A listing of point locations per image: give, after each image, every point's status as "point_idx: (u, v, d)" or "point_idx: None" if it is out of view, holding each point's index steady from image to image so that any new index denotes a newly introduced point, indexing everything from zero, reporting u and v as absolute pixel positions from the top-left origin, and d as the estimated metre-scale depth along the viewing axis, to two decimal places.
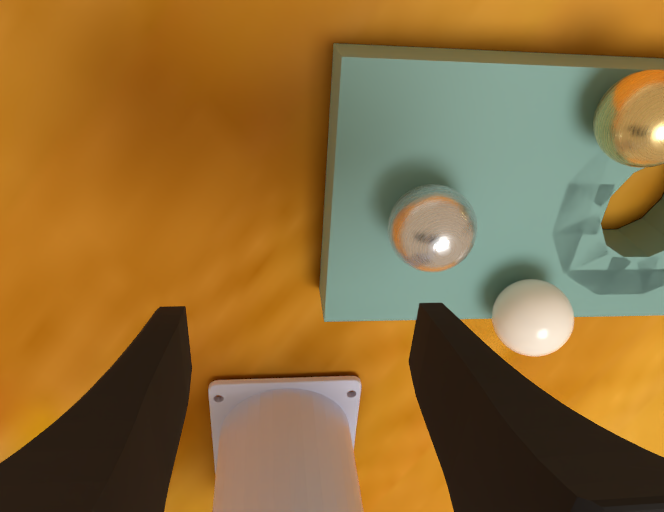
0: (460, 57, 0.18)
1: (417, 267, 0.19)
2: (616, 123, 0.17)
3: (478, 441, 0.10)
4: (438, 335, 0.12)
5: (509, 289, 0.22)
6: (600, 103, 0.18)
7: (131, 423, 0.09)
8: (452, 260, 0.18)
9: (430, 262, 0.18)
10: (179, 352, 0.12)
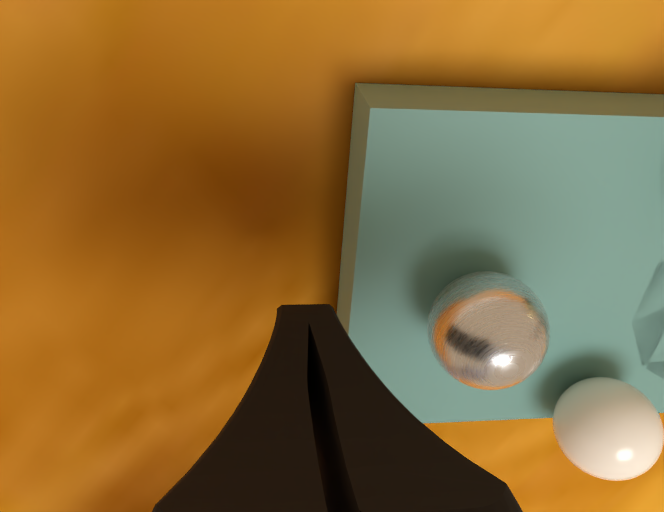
0: (527, 104, 0.14)
1: (469, 385, 0.14)
2: None
3: (328, 448, 0.10)
4: (312, 338, 0.12)
5: (578, 393, 0.17)
6: None
7: (308, 416, 0.09)
8: (519, 379, 0.13)
9: (488, 383, 0.13)
10: None
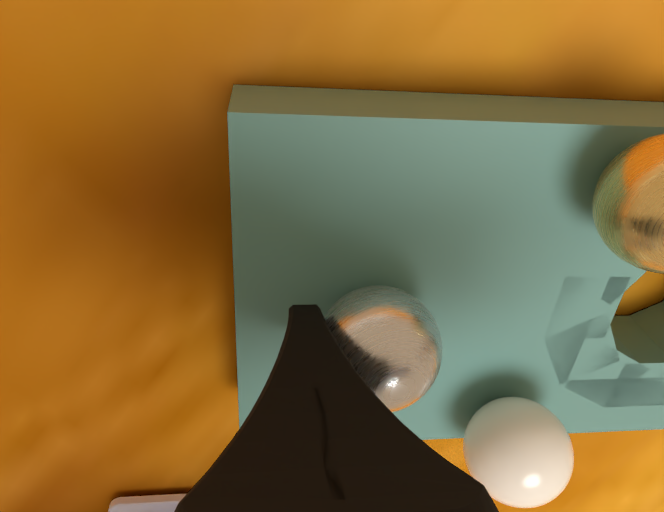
0: (410, 109, 0.13)
1: None
2: (617, 210, 0.11)
3: None
4: (297, 339, 0.12)
5: (486, 414, 0.16)
6: (602, 175, 0.12)
7: (324, 415, 0.09)
8: (411, 401, 0.12)
9: None
10: None
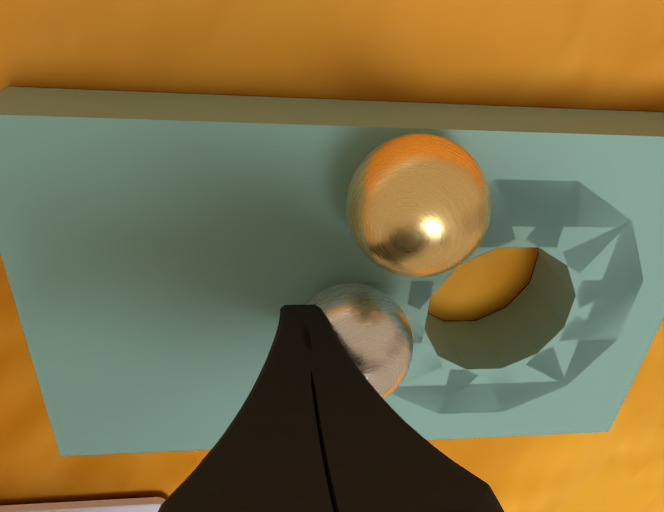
0: (171, 110, 0.12)
1: None
2: (350, 210, 0.11)
3: None
4: (300, 339, 0.12)
5: None
6: None
7: (312, 416, 0.09)
8: None
9: None
10: None
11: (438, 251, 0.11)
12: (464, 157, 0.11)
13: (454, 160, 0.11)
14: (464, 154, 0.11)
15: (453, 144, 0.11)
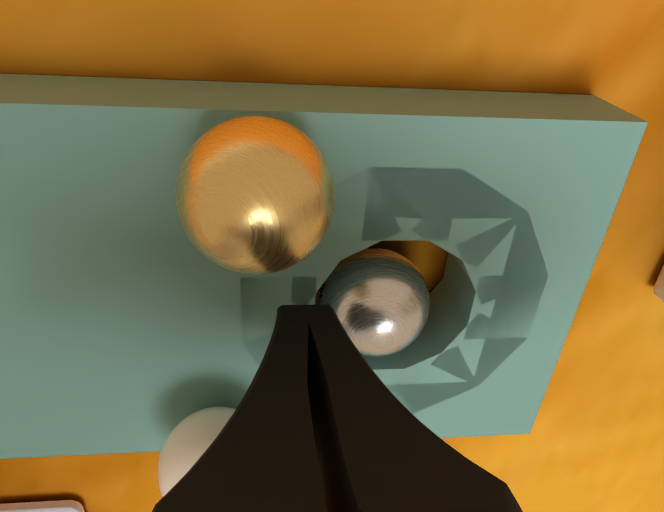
0: (3, 92, 0.11)
1: None
2: None
3: (328, 448, 0.10)
4: (312, 338, 0.12)
5: (177, 426, 0.15)
6: None
7: (308, 416, 0.09)
8: (391, 350, 0.15)
9: (363, 351, 0.15)
10: None
11: (253, 246, 0.09)
12: (289, 142, 0.10)
13: (273, 145, 0.09)
14: (291, 139, 0.10)
15: (283, 128, 0.10)
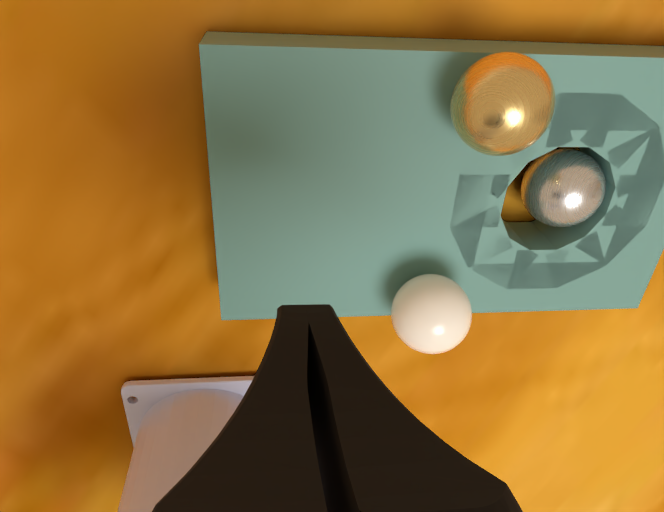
0: (332, 43, 0.18)
1: (572, 220, 0.21)
2: (452, 103, 0.17)
3: (328, 448, 0.10)
4: (312, 338, 0.12)
5: (405, 285, 0.21)
6: None
7: (308, 416, 0.09)
8: (600, 204, 0.21)
9: (587, 210, 0.20)
10: None
11: (511, 128, 0.16)
12: (536, 66, 0.16)
13: (528, 66, 0.15)
14: (536, 64, 0.16)
15: (530, 58, 0.16)
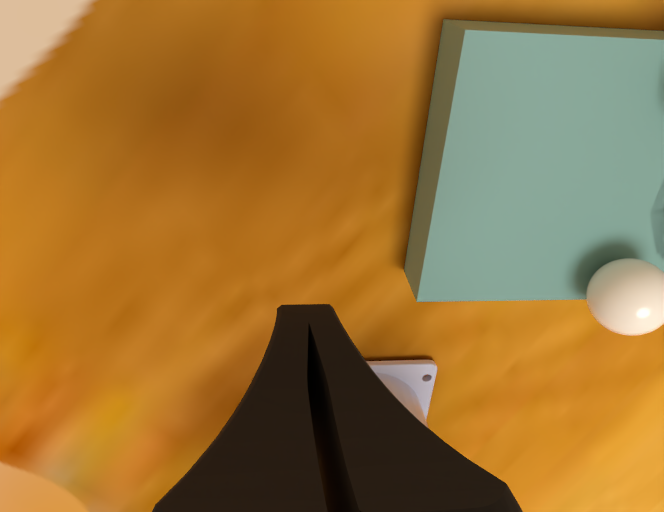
0: (576, 32, 0.18)
1: None
2: None
3: (328, 448, 0.10)
4: (312, 338, 0.12)
5: (607, 268, 0.21)
6: None
7: (308, 416, 0.09)
8: None
9: None
10: None
11: None
12: None
13: None
14: None
15: None
